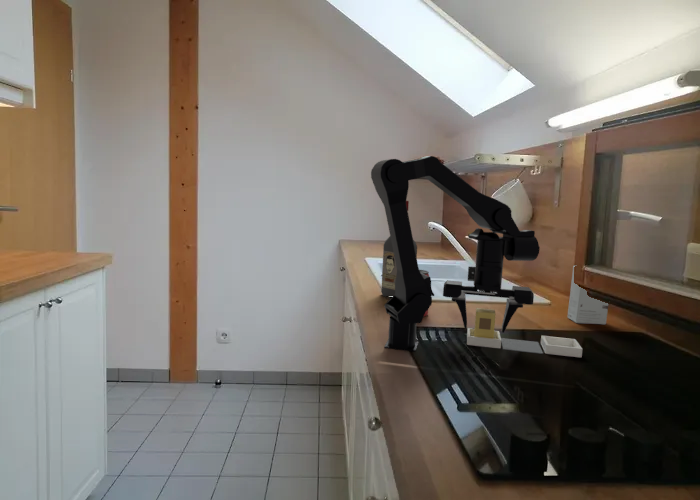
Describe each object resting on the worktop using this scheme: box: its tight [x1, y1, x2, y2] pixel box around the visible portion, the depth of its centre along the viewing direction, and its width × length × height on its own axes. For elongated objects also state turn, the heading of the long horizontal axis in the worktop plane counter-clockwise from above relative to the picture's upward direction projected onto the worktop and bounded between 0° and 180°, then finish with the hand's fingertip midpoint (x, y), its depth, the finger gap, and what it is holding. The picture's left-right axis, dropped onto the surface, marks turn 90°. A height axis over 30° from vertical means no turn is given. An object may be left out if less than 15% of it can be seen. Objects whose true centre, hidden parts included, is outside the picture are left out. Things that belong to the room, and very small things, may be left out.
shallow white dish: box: [466, 327, 502, 349], centre depth 107 cm, size 7×7×2 cm
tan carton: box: [474, 307, 496, 339], centre depth 107 cm, size 4×4×7 cm
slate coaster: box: [501, 337, 544, 355], centre depth 105 cm, size 8×8×1 cm
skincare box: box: [567, 265, 609, 325], centre depth 130 cm, size 8×6×15 cm
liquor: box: [380, 200, 418, 298], centre depth 151 cm, size 9×9×30 cm
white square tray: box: [540, 335, 583, 358], centre depth 103 cm, size 7×7×2 cm
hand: (484, 330), depth 107 cm, fingers open, 8 cm apart
